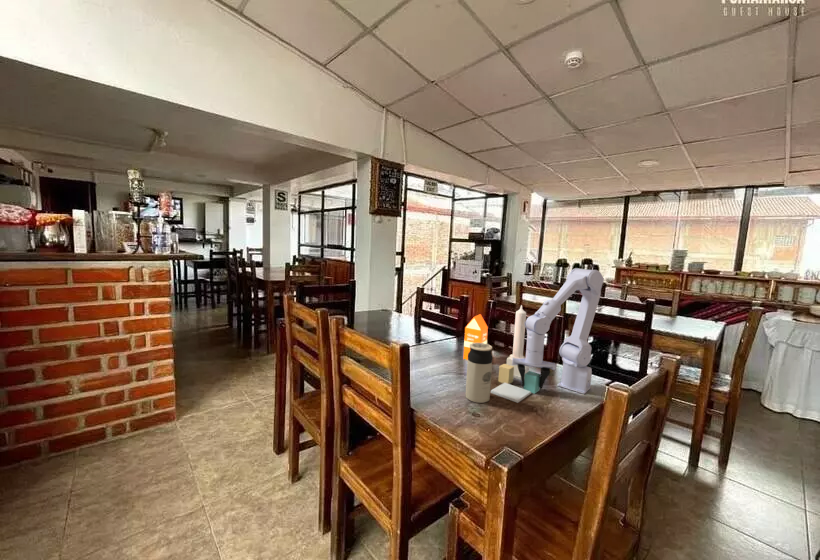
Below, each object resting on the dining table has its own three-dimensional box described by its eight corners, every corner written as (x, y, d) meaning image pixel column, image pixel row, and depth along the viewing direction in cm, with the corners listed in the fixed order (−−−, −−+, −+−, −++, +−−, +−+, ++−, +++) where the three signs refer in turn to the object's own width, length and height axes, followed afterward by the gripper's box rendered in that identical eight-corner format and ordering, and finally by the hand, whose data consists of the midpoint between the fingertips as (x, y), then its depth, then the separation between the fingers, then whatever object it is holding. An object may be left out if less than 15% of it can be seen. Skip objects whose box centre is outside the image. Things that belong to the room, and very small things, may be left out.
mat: (530, 393, 114) (530, 391, 114) (517, 402, 107) (517, 400, 107) (504, 384, 121) (504, 382, 121) (490, 392, 114) (490, 390, 114)
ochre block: (513, 381, 124) (514, 366, 123) (508, 384, 121) (509, 369, 120) (503, 378, 127) (504, 363, 126) (498, 381, 124) (499, 366, 123)
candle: (515, 361, 147) (519, 306, 144) (506, 355, 153) (510, 303, 151) (528, 360, 149) (533, 306, 146) (519, 355, 155) (523, 303, 153)
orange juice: (486, 357, 150) (489, 315, 148) (479, 363, 143) (482, 318, 140) (470, 354, 154) (472, 312, 152) (462, 359, 147) (465, 315, 145)
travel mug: (461, 394, 112) (464, 343, 110) (480, 391, 115) (484, 341, 113) (473, 405, 104) (476, 350, 102) (494, 401, 107) (498, 348, 105)
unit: (532, 378, 127) (534, 361, 127) (527, 382, 124) (528, 364, 123) (508, 371, 134) (510, 354, 134) (502, 374, 131) (504, 357, 130)
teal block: (539, 390, 117) (540, 374, 117) (534, 393, 114) (535, 377, 114) (528, 386, 120) (529, 370, 119) (523, 389, 117) (524, 373, 116)
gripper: (554, 348, 118) (551, 384, 119) (512, 344, 121) (510, 379, 123) (558, 354, 111) (554, 392, 112) (513, 349, 114) (511, 386, 116)
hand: (531, 386), depth 117 cm, fingers closed on teal block, 5 cm apart
